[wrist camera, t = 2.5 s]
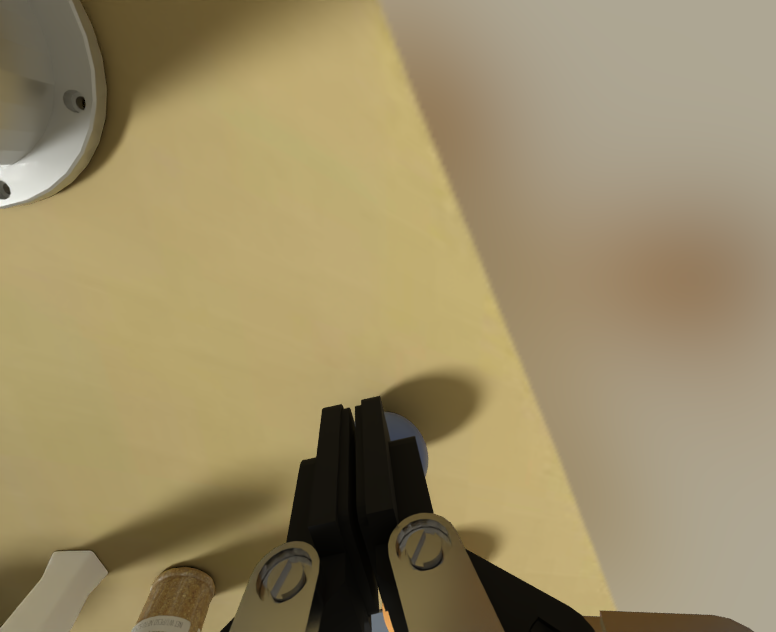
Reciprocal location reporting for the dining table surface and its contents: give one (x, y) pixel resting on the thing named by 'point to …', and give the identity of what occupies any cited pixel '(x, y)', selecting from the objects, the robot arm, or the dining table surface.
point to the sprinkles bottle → (177, 602)
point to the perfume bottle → (58, 594)
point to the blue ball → (406, 434)
